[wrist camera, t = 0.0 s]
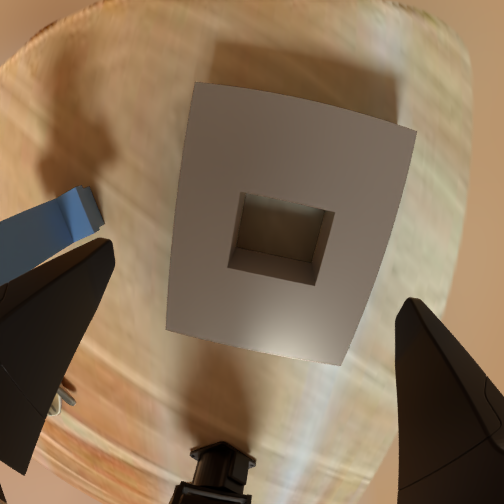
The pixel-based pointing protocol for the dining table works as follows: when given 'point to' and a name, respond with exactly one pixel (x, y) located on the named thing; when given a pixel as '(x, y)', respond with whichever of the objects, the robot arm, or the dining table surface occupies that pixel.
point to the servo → (46, 231)
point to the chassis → (287, 189)
